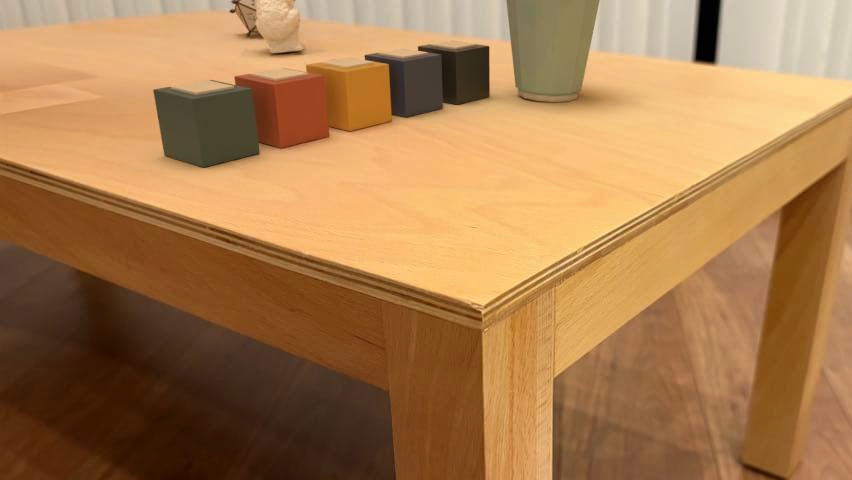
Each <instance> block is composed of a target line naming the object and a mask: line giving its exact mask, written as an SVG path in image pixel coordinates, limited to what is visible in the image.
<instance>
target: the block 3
mask: <svg viewBox="0 0 852 480" xmlns="http://www.w3.org/2000/svg"><path fill="white" fill-rule="evenodd" d="M364 60H367V61H373V62H379V63H385V64H389V79H390V97H391V115H393V116H399V117H403V118H409V117H413V116H418V115H421V114H425V113H430V112H433V111H438V110H442V109H444V102H443V90H442V55H441V54H434V53H428V52H422V51H418V50H415V49H409V48H397V49H391V50H386V51H385V50H384V51H381V52H379V51H378V52H374V53H368V54H364Z"/></svg>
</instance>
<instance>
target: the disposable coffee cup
mask: <svg viewBox="0 0 852 480" xmlns="http://www.w3.org/2000/svg"><path fill="white" fill-rule="evenodd" d="M600 1H601V0H505V2H506V9H507V17H508V18H507V19H508V29H509V38H510V39H509V40H510V46H511V56H512V65H513V75H514V85H515V88H516V89H517V93H518V96H520V97H521V98H523V99H526V100H532V101H535V102H548V103H549V102H550V103H560V102H571V101H575V100H577V99H578V97H579V93H581V92H582V88H583V82H584V78H585V73H586V68H587V65H588V64H587V63H588V58H589V54H590V49H591V44H592V39H593V34H594V30H595V25H596V21H597V16H598V10H599V5H600Z"/></svg>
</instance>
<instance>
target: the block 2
mask: <svg viewBox="0 0 852 480" xmlns="http://www.w3.org/2000/svg"><path fill="white" fill-rule="evenodd" d="M233 77H234V85H238V86H242V87H247V88H251V89H252V94H253V102H254V110H255V118H256V127H257V135H258V143H260V144H265V145H268V146H272V147H276V148H280V149H283V148H288V147H292V146H296V145H300V144H304V143H308V142H312V141H316V140H321V139H324V138H328V137H330V126H329V124H328V112H327V101H326V89H325V78H324V75H318V74H313V73H308V72H307V71H303V70H297V69H291V68H286V67H281V68H276V69H269V70H263V71H256V72H250V73H246V74H240V75H234V76H233Z"/></svg>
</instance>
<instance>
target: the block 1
mask: <svg viewBox="0 0 852 480" xmlns="http://www.w3.org/2000/svg"><path fill="white" fill-rule="evenodd" d="M152 91H153V97H154V102H155V108H156V115H157V121H158V126H159V133H160V138H161V143H162V151H163V155H164V157H168V158H171V159H175V160H178V161H182V162H184V163H187V164H191V165H194V166H198V167H200V168H207V167H211V166H216V165H219V164H223V163H228V162H231V161H236V160H240V159H243V158H247V157H251V156H255V155H256V156H257V155H259V154H260V151H261V150H260V144H259V143H260V142H258V135H257V127H256V118H255V110H254V102H253V94H252V89H251V88H247V87H242V86H238V85H235V84H233V83H228V82H224V81H219V80H216V79H215V80H213V79H207V80H201V81H195V82H190V83H189V82H188V83H183V84H177V85H171V86H166V87H159V88H154V89H152Z"/></svg>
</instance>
